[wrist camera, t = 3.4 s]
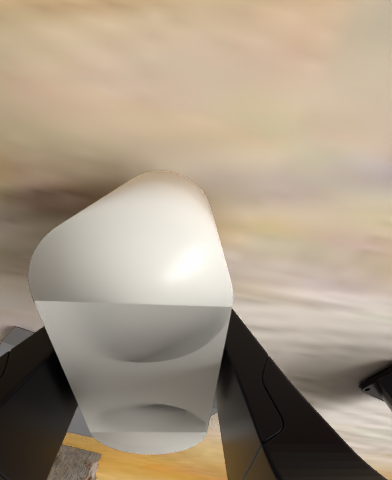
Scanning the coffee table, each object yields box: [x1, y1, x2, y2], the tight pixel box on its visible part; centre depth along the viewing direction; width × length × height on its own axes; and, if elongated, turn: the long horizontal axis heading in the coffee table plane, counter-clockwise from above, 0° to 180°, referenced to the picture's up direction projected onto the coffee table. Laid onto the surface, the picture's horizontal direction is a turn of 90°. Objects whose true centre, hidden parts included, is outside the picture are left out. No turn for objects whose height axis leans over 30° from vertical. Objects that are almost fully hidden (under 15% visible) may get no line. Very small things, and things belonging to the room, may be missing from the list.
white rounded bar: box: [28, 170, 233, 455], centre depth 8 cm, size 4×12×4 cm, turn 176°
